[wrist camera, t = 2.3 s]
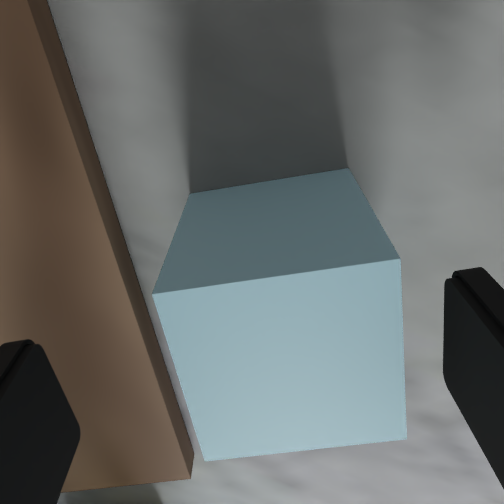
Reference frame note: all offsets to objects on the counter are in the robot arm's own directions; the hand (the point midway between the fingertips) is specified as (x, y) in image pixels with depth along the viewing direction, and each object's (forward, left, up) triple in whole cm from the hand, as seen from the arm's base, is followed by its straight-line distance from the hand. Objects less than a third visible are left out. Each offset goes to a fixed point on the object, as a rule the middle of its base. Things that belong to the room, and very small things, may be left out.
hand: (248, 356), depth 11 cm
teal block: (-1, 0, -6) cm, 6 cm away
